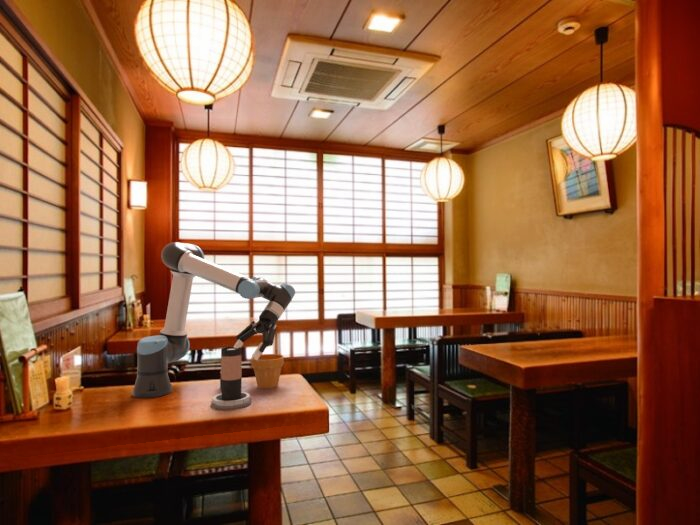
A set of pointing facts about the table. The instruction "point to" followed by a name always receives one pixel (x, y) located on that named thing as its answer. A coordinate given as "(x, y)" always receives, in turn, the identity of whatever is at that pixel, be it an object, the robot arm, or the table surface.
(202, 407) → the table surface
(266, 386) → the flower pot
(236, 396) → the travel mug
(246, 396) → the gray ring
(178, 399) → the table surface
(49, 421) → the table surface
